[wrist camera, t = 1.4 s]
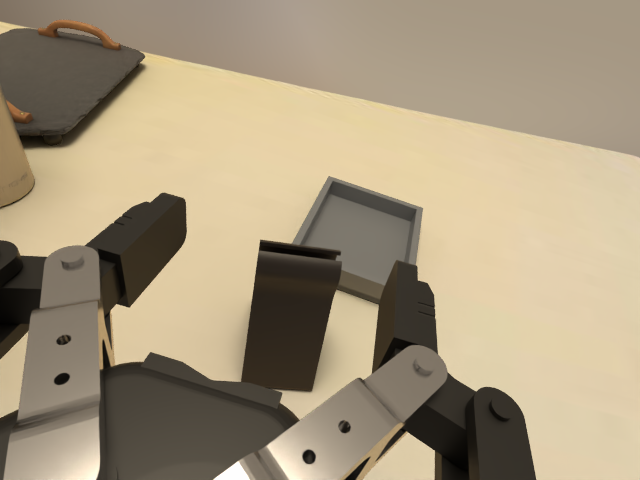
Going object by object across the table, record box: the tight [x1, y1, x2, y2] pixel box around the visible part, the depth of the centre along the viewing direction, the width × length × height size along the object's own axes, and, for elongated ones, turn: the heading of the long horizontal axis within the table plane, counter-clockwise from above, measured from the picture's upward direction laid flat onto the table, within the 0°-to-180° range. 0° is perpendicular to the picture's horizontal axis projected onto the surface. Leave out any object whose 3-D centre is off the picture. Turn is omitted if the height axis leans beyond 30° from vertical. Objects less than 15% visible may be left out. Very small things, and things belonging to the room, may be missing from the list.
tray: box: [292, 176, 423, 304], centre depth 46 cm, size 14×17×3 cm
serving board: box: [0, 20, 145, 145], centre depth 58 cm, size 39×23×6 cm, turn 2°
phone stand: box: [241, 240, 342, 391], centre depth 30 cm, size 9×6×12 cm, turn 1°
